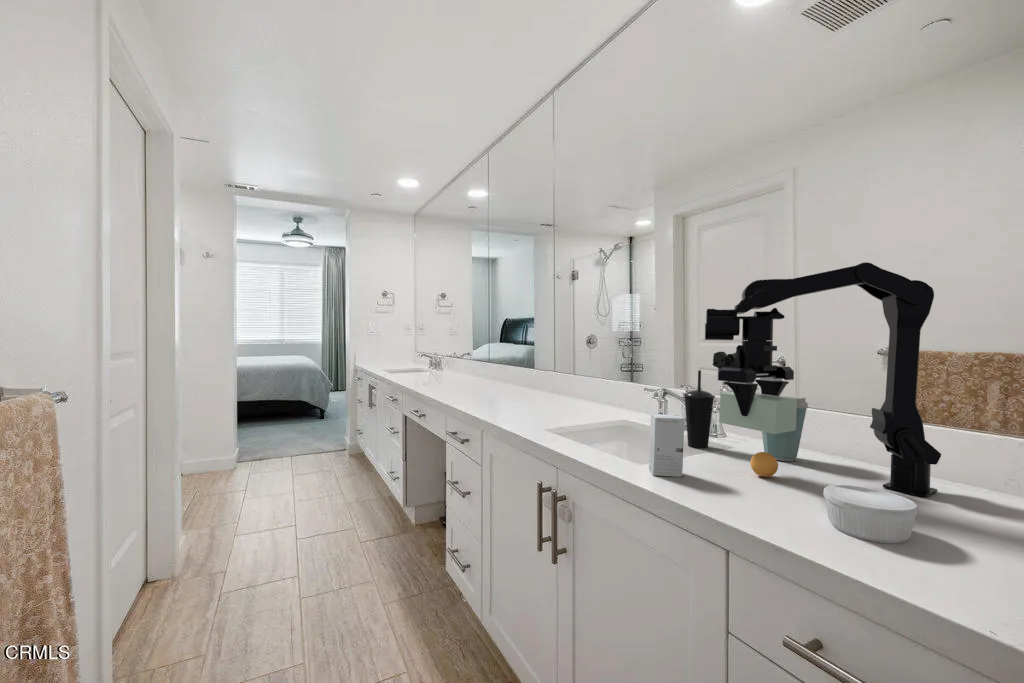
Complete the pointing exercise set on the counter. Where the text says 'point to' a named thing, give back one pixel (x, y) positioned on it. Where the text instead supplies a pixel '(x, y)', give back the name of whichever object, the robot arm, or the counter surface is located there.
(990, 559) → the counter surface
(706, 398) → the drinking cup
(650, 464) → the skincare box
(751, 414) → the sage green rectangular block
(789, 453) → the disposable coffee cup
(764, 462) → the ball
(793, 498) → the counter surface
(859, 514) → the ramekin
